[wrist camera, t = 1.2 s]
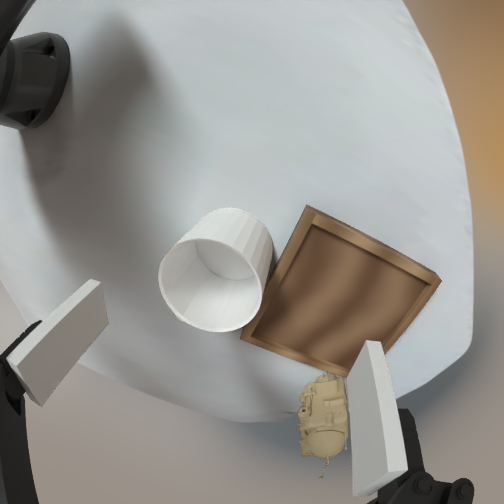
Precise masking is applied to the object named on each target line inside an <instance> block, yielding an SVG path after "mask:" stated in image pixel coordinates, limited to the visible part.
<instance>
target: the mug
mask: <svg viewBox="0 0 504 504" xmlns="http://www.w3.org/2000/svg"><path fill="white" fill-rule="evenodd" d="M272 253H273V245H272V239H271V237H270V234H269V232H268V230H267V229H266V227H265V225H264V224H263V223H262V222H261V221H260V220H259V219H258V218H257V217H255V216H254V215H252V214H251V213H249V212H246V211H244V210H241V209H237V208H221V209H217V210H215V211H212V212H210V213H209V214H207V215H206V216H204V217H203V218H202V219H201V220H200V221H199V222H198V223H197V224H196V225H195V226H194V227H193V228H192V229H191V230H190V231H188V232H187V233H186V234H185V235H184V236H183V237H182V238H181V239H180V240H179V241H178V242H177V243H176V244H175V245H174V246H173V247H172V248H171V249H170V250H169V251H168V252H167V253H166V254H165V256H164V258H163V259H162V261H161V264H160V267H159V274H158V281H159V287H160V290H161V293H162V296H163V298H164V300H165V301H166V303H167V305H168V306H169V307H170V308H171V310H172V311H173V312H174V313H175V316H176V317H177V318H178V319H179V320H180V321H182V322H187V323H188V324H190V325H192V326H194V327H196V328H199V329H202V330H205V331H211V332H227V331H233V330H236V329H238V328H241V327H243V326H244V325H246V324H247V323H249V322H250V321H251V320H252V319H253V318H254V317H255V315H256V313H257V312H258V310H259V308H260V304H261V301H262V296H263V292H264V288H265V284H266V280H267V276H268V271H269V267H270V263H271V259H272Z"/></svg>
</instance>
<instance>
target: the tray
mask: <svg viewBox="0 0 504 504" xmlns="http://www.w3.org/2000/svg"><path fill="white" fill-rule="evenodd" d="M441 282H442V280H441V279H440V278H439V276H438V275H437V274H436V273H435V272H433V271H432V270H430V269H428V268H427V267H425V266H423V265H421V264H420V263H418V262H416V261H414V260H413V259H411V258H409V257H407V256H406V255H404V254H402V253H400V252H398V251H397V250H395V249H393V248H391V247H389V246H387V245H386V244H384V243H382V242H380V241H378V240H376V239H374V238H372V237H371V236H369V235H367V234H365V233H363V232H361V231H359V230H357V229H355V228H353V227H351V226H349V225H347V224H345V223H343V222H341V221H339V220H337V219H335V218H333V217H331V216H329V215H327V214H325V213H323V212H321V211H319V210H317V209H315V208H313V207H311V206H308V205H306V207H305V209H304V211H303V213H302V215H301V217H300V219H299V221H298V223H297V225H296V227H295V229H294V231H293V233H292V235H291V237H290V239H289V241H288V243H287V245H286V247H285V249H284V251H283V253H282V255H281V257H280V259H279V261H278V263H277V265H276V266H275V268H274V270H273V272H272V274H271V276H270V278H269V280H268V282H267V284H266V286H265V288H264V292H263V296H262V301H261V304H260V308H259V310H258V312H257V313H256V315H255V317H254V318H253V319H252V320H251V321H250V322H249V323H247V324H246V325H245V326H244V328H243V330H242V333H241V337H240V339H242V340H244V341H246V342H249V343H251V344H254V345H256V346H259V347H261V348H264V349H266V350H269V351H272V352H274V353H277V354H280V355H282V356H285V357H288V358H290V359H293V360H296V361H299V362H301V363H304V364H307V365H310V366H313V367H316V368H319V369H321V370H324V371H327V372H331V373H334V374H337V375H340V376H343V377H346V378H347V376H348V375H349V373H350V371H351V369H352V367H353V365H354V363H355V361H356V359H357V358H358V356H359V354H360V352H361V350H362V348H363V346H364V344H365V341H366V340H370V341H378V342H381V345H382V348H383V352H384V355H385V353H386V352H387V351H388V350H389V349H390V348H391V347H392V345H393V344H394V343H395V342H396V341H397V340H398V338H399V337H400V336H401V335H402V334H403V332H404V331H405V330H406V329H407V328H408V326H409V325H410V324H411V323H412V321H413V320H414V319H415V317H416V316H417V315H418V314H419V312H420V311H421V310H422V308H423V307H424V306H425V304H426V303H427V302H428V300H429V299H430V297H431V296H432V295H433V293H434V292H435V290H436V289H437V288H438V286H439V285H440V283H441Z"/></svg>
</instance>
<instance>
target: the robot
mask: <svg viewBox="0 0 504 504" xmlns="http://www.w3.org/2000/svg"><path fill="white" fill-rule="evenodd" d="M300 401H301V403H302V407H300V408H299V413H298V416H299V418H300V421H301V424H298V425H302V426H300V429H299V430H300V434H301V437H302V438H303V440H299V444H300V445H301V449H302V454H303V455H302V456H311V455H314V456H316V457H319V458H324V459H325V458H329V457H333V456H335V455H336V454H338V453H339V451H341V450H342V448H343V446H344V444H345V443H346V439H347V438H348V410H347V397H346V391H345V385H344V379H343V378H338V379H337V377H336V376H335V375H334V374H331V373H328V372H327V375H324V374H322V375H320V376H318V377H317V382H314V383H308V384H307V385H306V387H305V389H304V394H300ZM296 431H298V430H296ZM345 449H346V448H345ZM327 463H328V466H329V459H328V462H327ZM323 469H324V467H323ZM319 478H323V475H322V476H321V477H319Z"/></svg>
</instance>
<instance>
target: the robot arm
mask: <svg viewBox="0 0 504 504" xmlns="http://www.w3.org/2000/svg"><path fill="white" fill-rule="evenodd" d="M35 1H36V0H0V125H3V126H7V127H11V128H15V129H20V130H23V129H29V128H35V127H37V126H39V125H41V124H42V123H43V122H44V121H46V120H47V118H48V117H49V116H50V115H51V113H52V112H53V111H54V109H55V107H56V105H57V104H58V102H59V100H60V97H61V95H62V92H63V90H64V87H65V83H66V80H67V75H68V69H69V51H68V46H67V44H66V41H65V40H64V39H63V37H61V36H60V35H58V34H54V33H48V32H41V33H36V34H32V35H28V36H24V37H20V38H17V39H13V40H10V38H11V37H12V35H13V33H14V32H15V30H16V29H17V27H18V26H19V24H20V22H21V21H22V19H23V18H24V16H25V15H26V14H27V12H28V11H29V9H30V8H31V7H32V5H33V4H34V2H35ZM108 324H109V323H108V318H107V313H106V307H105V302H104V296H103V290H102V284H101V282H99V281H96V280H93V279H89V280H88V281H87V282H86V283H85V284H84V285H82V286H81V287H80V288H79V289H78V290H77V291H75V292H74V293H73V294H72V295H71V296H70V297H69V298H68V299H66V300H65V301H64V302H63V303H62V304H61V305H60V306H59V307H58V308H56V309H55V310H54V311H53V312H52V313H51V314H50V315H49V316H48V317H47V318H46V319H45V320H44V321H41V320H39V321H37V322H35V323H34V324H32V325H31V326H29V327H28V328H27V329H26V330H25V332H23V333H22V334H21V335H20V337H19V338H17V339H16V340H15V341H14V342H13V343H12V344H11V345H10V346H9V347H8V348H7V349H6V350H5V351H4V352H3V353H2V354H1V355H0V504H39V502H38V498H37V494H36V490H35V485H34V480H33V475H32V469H31V463H30V457H29V449H28V441H27V431H26V417H25V399H24V396H23V394H24V393H25V392H26V393H27V394H28V396H29V397H30V399H31V400H32V401H34V402H35V403H37V404H38V405H39V406H41V407H42V406H43V405H44V403H45V402H46V401H47V399H48V398H49V397H50V395H51V394H52V393H53V391H54V390H55V389H56V387H57V386H58V385H59V383H60V382H61V381H62V380H63V378H64V377H65V376H66V375H67V373H68V372H69V371H70V370H71V368H72V367H73V366H74V364H75V363H76V362H77V361H78V360H79V358H80V357H81V356H82V355H83V353H84V352H85V351H86V350H87V349H88V347H89V346H90V345H91V344H92V343H93V341H94V340H95V339H96V338H97V337H98V335H99V334H100V333H101V332H102V331H103V330H104V328H105V327H106V326H107V325H108ZM346 380H347V391H348V402H349V413H350V428H351V444H352V445H351V446H352V476H353V496H366V495H372V494H373V493H375V492H376V491H378V497H377V498H375V499H374V500H372V501H370V502H369V503H367V504H472V501H473V497H474V486H473V484H472V482H471V481H470V480H469V479H467V478H460V479H458V480H456V481H455V482H453V483H447V482H440V481H435V480H434V479H433V477H432V476H431V475H430V474H428V473H426V472H425V469H424V465H423V460H422V454H421V448H420V444H419V439H418V434H417V431H416V425H415V421H414V417H413V416H412V414H411V413H410V411H409V410H408V409H397V405H396V400H395V396H394V391H393V387H392V383H391V379H390V375H389V371H388V367H387V363H386V359H385V356H384V352H383V348H382V345H381V342H378V341H370V340H366V341H365V344H364V346H363V348H362V350H361V352H360V354H359V356H358V358H357V359H356V361H355V363H354V365H353V367H352V369H351V371H350V373H349V375H348V376H347V378H346Z"/></svg>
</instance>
